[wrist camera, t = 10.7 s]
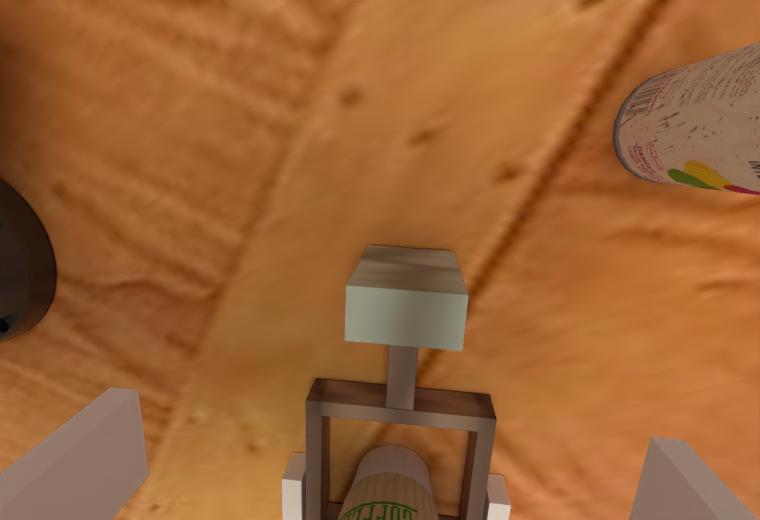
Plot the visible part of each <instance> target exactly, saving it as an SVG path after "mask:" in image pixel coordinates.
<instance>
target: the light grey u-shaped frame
mask: <svg viewBox="0 0 760 520" xmlns="http://www.w3.org/2000/svg"><path fill="white" fill-rule="evenodd" d="M510 508H511V504H510V500H509V496H508V492H507V488H506V485H505V481H504V477H503V475H496V474H489V476H488V483H487V490H486V497H485V504H484V511H483V518H482V520H509V514H510ZM282 510H283V520H306V454H305V453H296V452H293V454H292V456H291V458H290V461H289V463H288V466H287V468H286V470H285V473H284V475H283V477H282Z"/></svg>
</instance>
